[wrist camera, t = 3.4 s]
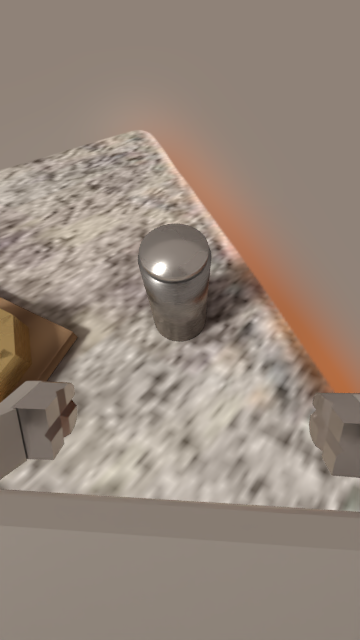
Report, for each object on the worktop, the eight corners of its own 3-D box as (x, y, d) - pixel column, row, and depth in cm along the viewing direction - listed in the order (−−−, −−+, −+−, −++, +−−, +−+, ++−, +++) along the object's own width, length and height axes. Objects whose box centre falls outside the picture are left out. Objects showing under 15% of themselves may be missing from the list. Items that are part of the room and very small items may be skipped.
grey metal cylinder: (213, 306, 27) (223, 234, 18) (192, 349, 25) (192, 291, 16) (169, 289, 28) (158, 213, 19) (145, 329, 26) (121, 264, 17)
